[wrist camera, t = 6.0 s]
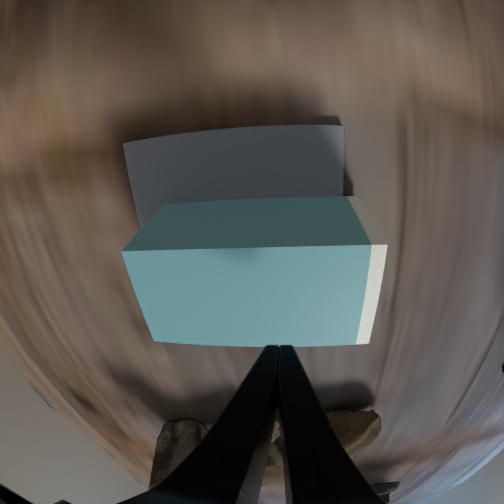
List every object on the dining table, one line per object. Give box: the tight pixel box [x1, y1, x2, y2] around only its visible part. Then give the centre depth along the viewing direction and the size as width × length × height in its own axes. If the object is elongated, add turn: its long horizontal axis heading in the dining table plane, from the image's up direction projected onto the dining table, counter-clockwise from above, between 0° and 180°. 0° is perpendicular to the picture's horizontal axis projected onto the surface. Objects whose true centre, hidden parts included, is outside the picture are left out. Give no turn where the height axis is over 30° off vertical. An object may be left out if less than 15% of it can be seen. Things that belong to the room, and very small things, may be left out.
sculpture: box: [149, 410, 381, 490], centre depth 25 cm, size 8×22×15 cm
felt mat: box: [123, 124, 344, 229], centre depth 16 cm, size 11×12×1 cm
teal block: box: [121, 196, 388, 347], centre depth 14 cm, size 5×5×10 cm
